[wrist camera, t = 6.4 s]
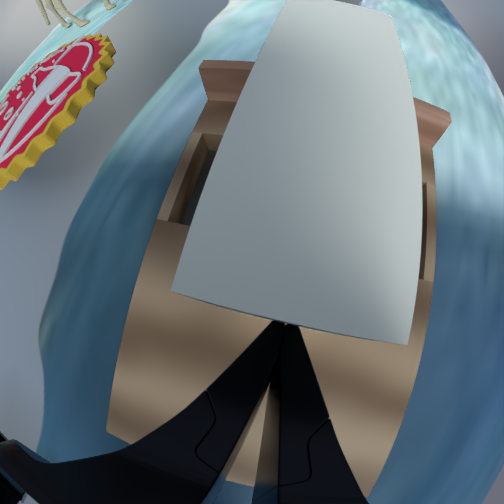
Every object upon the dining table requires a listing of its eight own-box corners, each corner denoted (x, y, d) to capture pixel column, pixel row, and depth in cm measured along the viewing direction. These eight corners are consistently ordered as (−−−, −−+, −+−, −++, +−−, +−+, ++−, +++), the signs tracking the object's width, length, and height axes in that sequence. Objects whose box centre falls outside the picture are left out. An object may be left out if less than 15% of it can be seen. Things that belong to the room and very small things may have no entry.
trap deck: (358, 480, 14) (383, 524, 8) (122, 421, 16) (76, 446, 10) (419, 155, 19) (449, 112, 14) (217, 111, 22) (203, 60, 16)
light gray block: (324, 332, 14) (407, 345, 5) (236, 312, 15) (170, 290, 5) (355, 130, 18) (391, 15, 8) (288, 115, 18) (289, -6, 9)
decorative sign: (1, 213, 19) (-41, 165, 25) (16, 221, 22) (-32, 171, 27) (150, 23, 25) (51, 43, 31) (156, 36, 28) (56, 50, 33)
